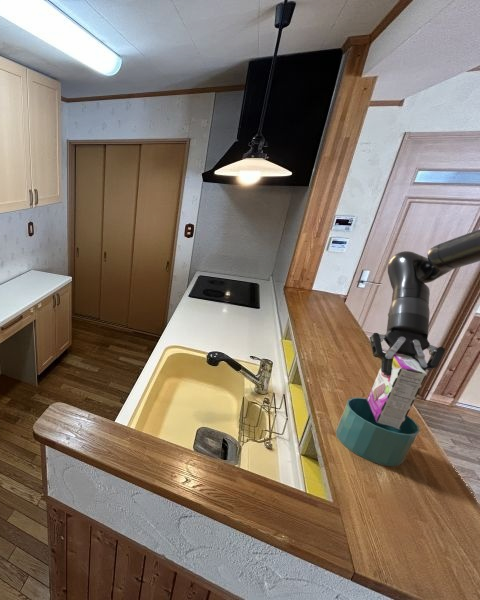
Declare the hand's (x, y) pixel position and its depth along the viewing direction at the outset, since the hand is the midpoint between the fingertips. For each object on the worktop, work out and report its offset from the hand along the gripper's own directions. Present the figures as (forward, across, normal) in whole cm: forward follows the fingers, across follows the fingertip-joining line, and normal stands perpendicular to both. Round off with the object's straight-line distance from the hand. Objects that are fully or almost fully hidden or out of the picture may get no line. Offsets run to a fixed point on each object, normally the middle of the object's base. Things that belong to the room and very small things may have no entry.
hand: (402, 378), depth 79 cm
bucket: (+15, 0, +17) cm, 22 cm away
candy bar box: (+7, 0, +10) cm, 12 cm away
